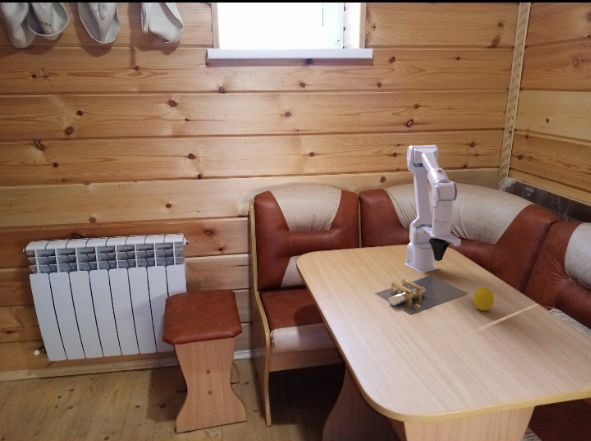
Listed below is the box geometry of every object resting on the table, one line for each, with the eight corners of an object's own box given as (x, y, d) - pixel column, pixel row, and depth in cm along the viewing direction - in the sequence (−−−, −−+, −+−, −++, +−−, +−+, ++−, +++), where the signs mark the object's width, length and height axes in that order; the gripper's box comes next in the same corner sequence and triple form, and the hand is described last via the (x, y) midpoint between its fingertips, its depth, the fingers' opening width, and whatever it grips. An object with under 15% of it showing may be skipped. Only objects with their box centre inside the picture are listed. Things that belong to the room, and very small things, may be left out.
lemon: (470, 313, 139) (473, 288, 137) (473, 305, 144) (476, 281, 141) (491, 317, 137) (494, 292, 134) (493, 309, 141) (496, 285, 139)
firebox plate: (374, 295, 151) (375, 279, 149) (431, 276, 163) (432, 262, 161) (410, 316, 138) (411, 299, 136) (468, 295, 150) (470, 279, 148)
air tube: (391, 307, 143) (396, 303, 141) (386, 299, 144) (391, 295, 142) (422, 296, 149) (427, 292, 147) (418, 289, 151) (422, 284, 149)
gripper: (415, 216, 153) (413, 255, 157) (451, 228, 141) (447, 270, 145) (431, 212, 156) (428, 250, 161) (467, 224, 145) (462, 265, 149)
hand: (438, 260), depth 153 cm, fingers closed
